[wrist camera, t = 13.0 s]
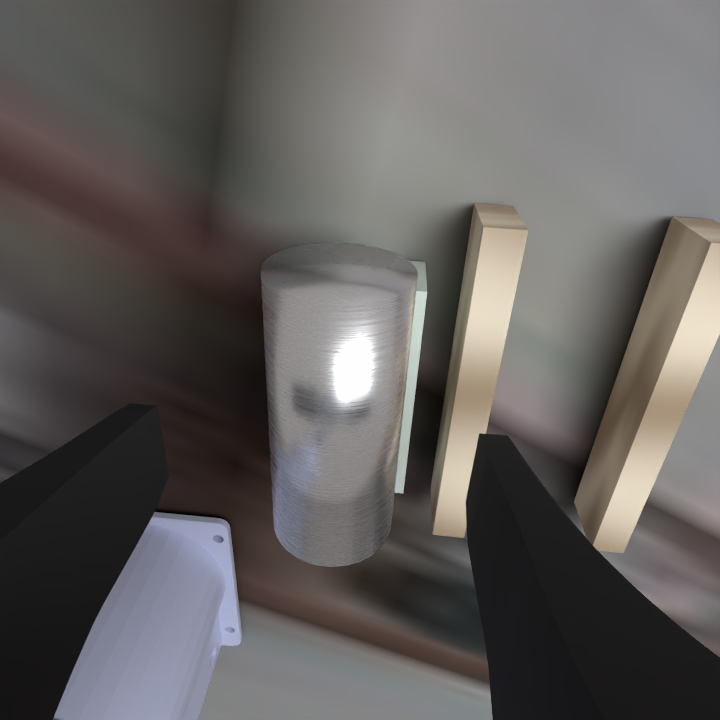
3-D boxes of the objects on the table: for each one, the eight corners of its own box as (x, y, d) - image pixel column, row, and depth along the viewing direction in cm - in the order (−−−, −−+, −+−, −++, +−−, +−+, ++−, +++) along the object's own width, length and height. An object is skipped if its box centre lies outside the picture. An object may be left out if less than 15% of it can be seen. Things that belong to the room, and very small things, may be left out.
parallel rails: (602, 504, 22) (623, 553, 20) (430, 488, 23) (432, 534, 21) (712, 219, 16) (758, 246, 14) (474, 203, 17) (483, 227, 14)
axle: (391, 480, 20) (391, 571, 17) (284, 473, 20) (262, 561, 17) (415, 247, 15) (421, 306, 12) (276, 238, 16) (243, 294, 12)
